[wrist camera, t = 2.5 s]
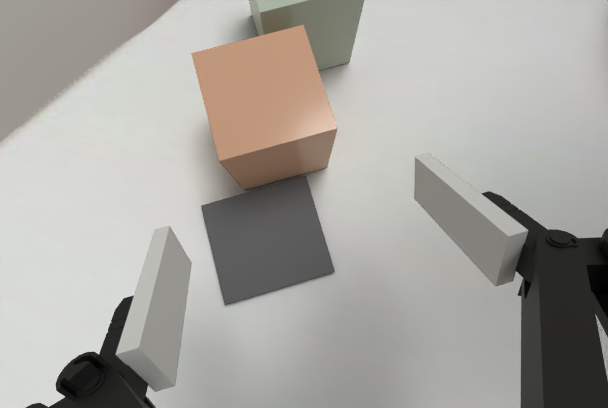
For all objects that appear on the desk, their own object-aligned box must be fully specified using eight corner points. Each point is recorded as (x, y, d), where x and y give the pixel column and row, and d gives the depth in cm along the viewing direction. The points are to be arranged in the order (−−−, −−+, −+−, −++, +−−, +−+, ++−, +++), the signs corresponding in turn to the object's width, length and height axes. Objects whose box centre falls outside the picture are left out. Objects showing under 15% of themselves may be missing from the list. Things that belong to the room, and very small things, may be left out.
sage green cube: (325, -5, 36) (334, -103, 26) (349, 62, 35) (367, -15, 25) (251, 14, 36) (232, -78, 26) (272, 82, 34) (259, 12, 24)
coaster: (305, 178, 32) (305, 176, 32) (334, 271, 31) (334, 271, 30) (203, 207, 32) (201, 205, 31) (226, 303, 30) (224, 304, 29)
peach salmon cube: (303, 91, 34) (303, 24, 24) (327, 167, 33) (337, 128, 23) (224, 113, 34) (191, 53, 24) (244, 190, 32) (218, 161, 22)
